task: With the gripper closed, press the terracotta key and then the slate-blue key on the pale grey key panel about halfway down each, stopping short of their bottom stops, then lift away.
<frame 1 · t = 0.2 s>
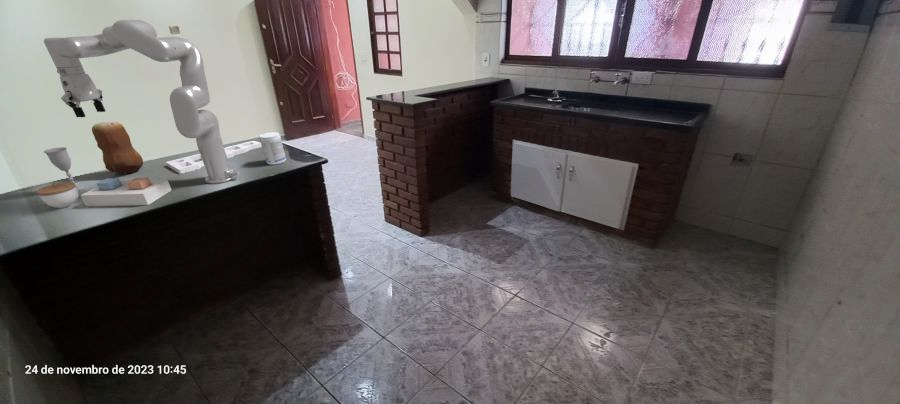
hand: (91, 114, 149), 31 cm above the table, tool pointing down, fingers open, 9 cm apart
key panel: (131, 197, 146), on the table
slate-blue key: (109, 184, 143), point 6 cm above the table, slide at 0.0 cm
butternut squash: (129, 173, 172), on the table
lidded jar: (66, 205, 142), on the table
chalice: (76, 189, 155), on the table
terracotta key: (139, 183, 144), point 6 cm above the table, slide at 0.0 cm
holder: (222, 158, 191), on the table
supplement tub: (276, 162, 183), on the table
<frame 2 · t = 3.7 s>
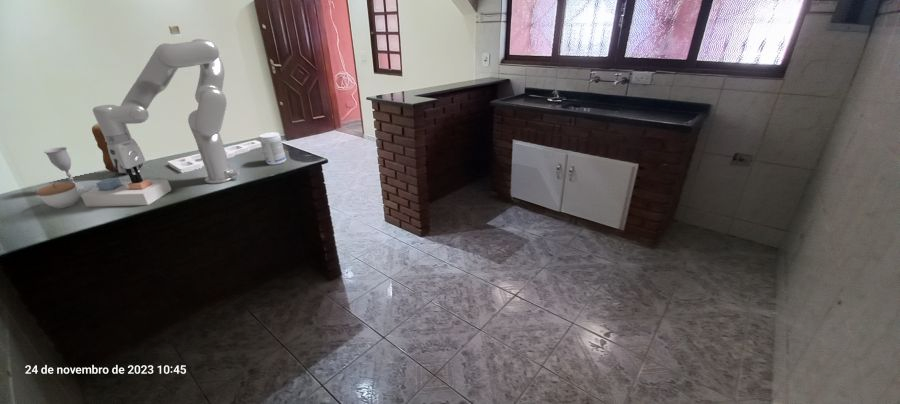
hand: (137, 182, 143), 7 cm above the table, tool pointing down, fingers closed
terracotta key: (140, 185, 144), point 6 cm above the table, slide at 0.8 cm, touching gripper
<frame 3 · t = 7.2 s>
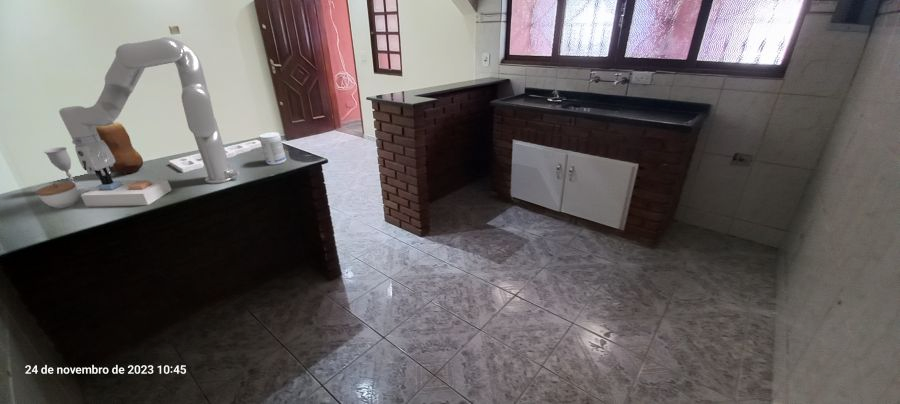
hand: (108, 183, 143), 7 cm above the table, tool pointing down, fingers closed
slate-blue key: (110, 186, 144), point 5 cm above the table, slide at 1.2 cm, touching gripper
terracotta key: (140, 186, 144), point 5 cm above the table, slide at 1.4 cm
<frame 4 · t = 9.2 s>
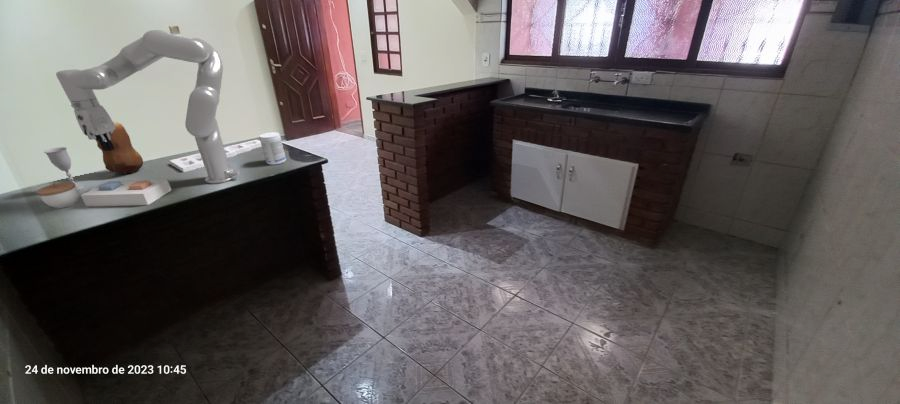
hand: (109, 150, 142), 19 cm above the table, tool pointing down, fingers closed
slate-blue key: (110, 187, 144), point 5 cm above the table, slide at 1.4 cm
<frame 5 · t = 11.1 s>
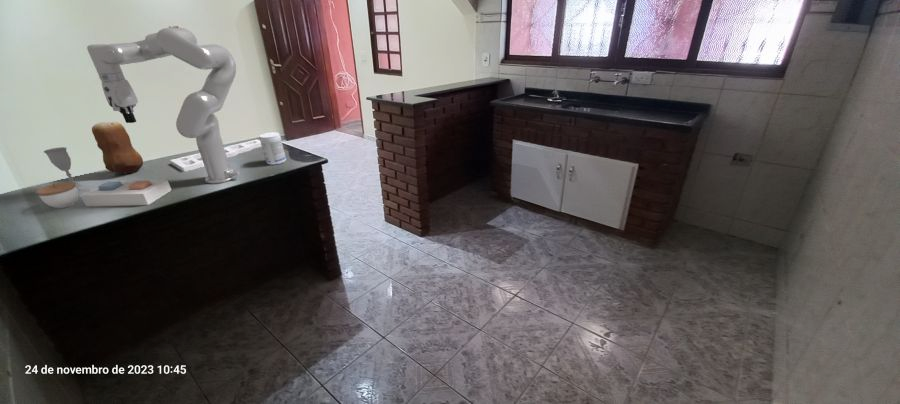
hand: (131, 122, 151), 27 cm above the table, tool pointing down, fingers closed
at the end: terracotta key slide at 1.4 cm; slate-blue key slide at 1.4 cm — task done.
